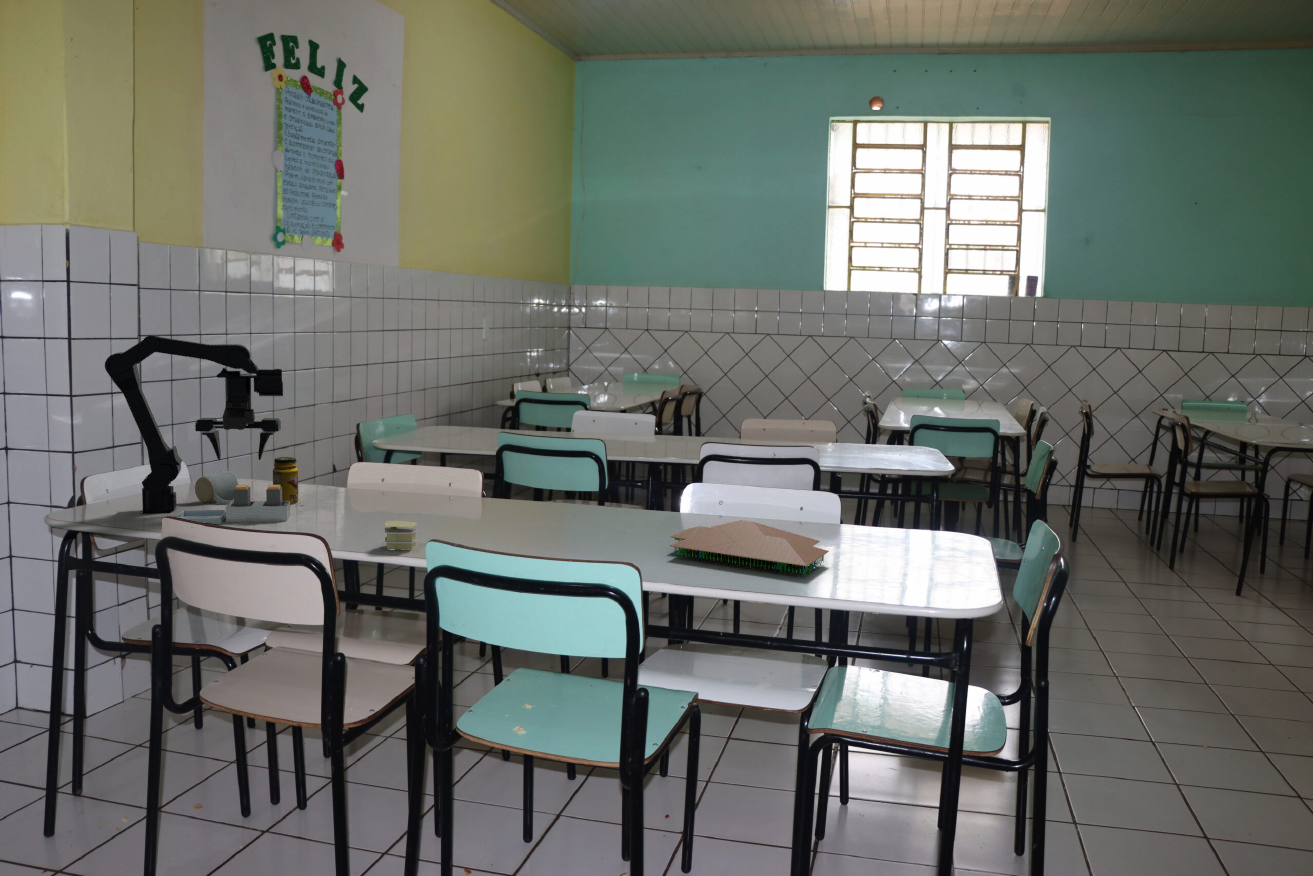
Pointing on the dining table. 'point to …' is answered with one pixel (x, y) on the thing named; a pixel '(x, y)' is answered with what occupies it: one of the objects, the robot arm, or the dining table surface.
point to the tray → (204, 515)
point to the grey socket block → (257, 512)
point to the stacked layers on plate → (400, 535)
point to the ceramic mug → (216, 488)
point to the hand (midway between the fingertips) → (239, 459)
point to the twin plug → (274, 495)
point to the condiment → (286, 478)
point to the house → (751, 544)
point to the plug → (242, 495)
